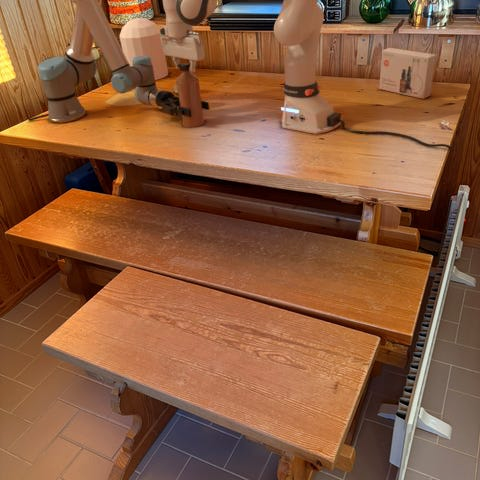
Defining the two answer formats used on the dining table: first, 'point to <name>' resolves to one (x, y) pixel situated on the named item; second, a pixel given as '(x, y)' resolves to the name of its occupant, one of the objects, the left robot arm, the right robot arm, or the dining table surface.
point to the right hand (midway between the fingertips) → (186, 70)
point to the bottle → (190, 98)
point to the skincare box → (407, 72)
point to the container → (144, 44)
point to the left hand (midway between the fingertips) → (199, 109)
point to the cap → (184, 66)
